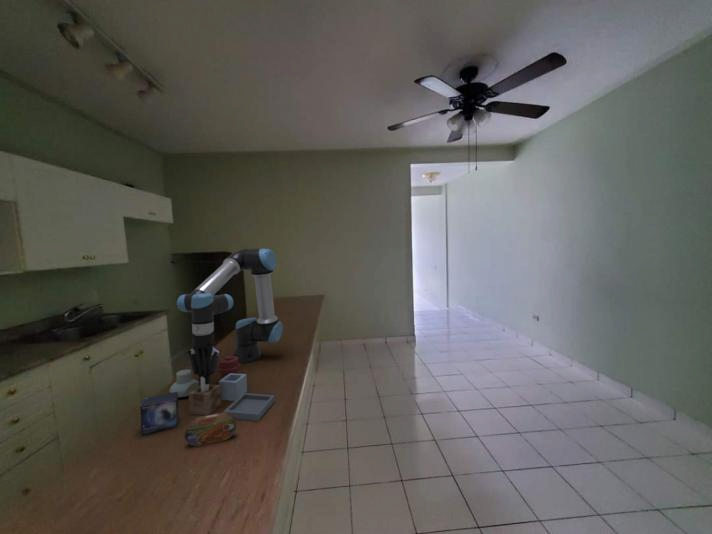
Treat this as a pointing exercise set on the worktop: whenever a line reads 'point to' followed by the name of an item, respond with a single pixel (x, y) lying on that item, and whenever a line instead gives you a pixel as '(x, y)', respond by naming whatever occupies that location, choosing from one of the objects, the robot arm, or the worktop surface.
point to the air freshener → (184, 383)
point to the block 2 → (233, 386)
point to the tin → (210, 429)
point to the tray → (250, 406)
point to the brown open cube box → (204, 400)
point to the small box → (159, 413)
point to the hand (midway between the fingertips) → (205, 391)
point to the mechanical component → (228, 365)
